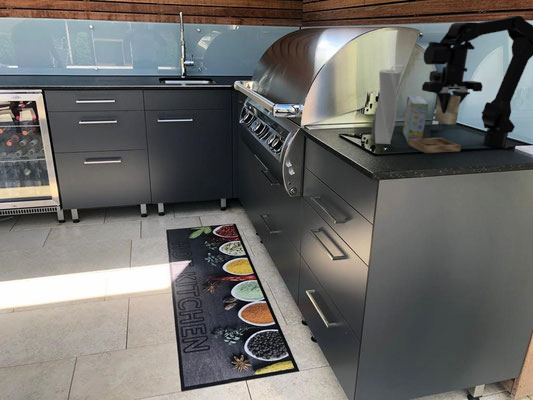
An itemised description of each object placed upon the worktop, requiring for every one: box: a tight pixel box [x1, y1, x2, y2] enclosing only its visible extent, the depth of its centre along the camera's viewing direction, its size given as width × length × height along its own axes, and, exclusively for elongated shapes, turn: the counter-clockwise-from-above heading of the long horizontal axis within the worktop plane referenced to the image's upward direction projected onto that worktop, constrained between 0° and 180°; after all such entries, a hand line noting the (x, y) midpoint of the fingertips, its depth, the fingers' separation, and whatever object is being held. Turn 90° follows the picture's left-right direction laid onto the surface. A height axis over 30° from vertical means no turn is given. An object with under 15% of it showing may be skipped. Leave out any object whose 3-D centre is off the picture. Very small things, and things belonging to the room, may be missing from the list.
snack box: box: [402, 95, 429, 143], centre depth 163 cm, size 21×6×15 cm, turn 168°
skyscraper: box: [370, 64, 405, 145], centre depth 153 cm, size 8×8×28 cm
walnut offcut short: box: [418, 140, 434, 146], centre depth 148 cm, size 3×5×1 cm, turn 18°
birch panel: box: [434, 93, 461, 125], centre depth 145 cm, size 3×8×9 cm, turn 12°
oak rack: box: [407, 137, 462, 154], centre depth 150 cm, size 13×11×3 cm
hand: (448, 113), depth 145 cm, fingers closed on birch panel, 3 cm apart
